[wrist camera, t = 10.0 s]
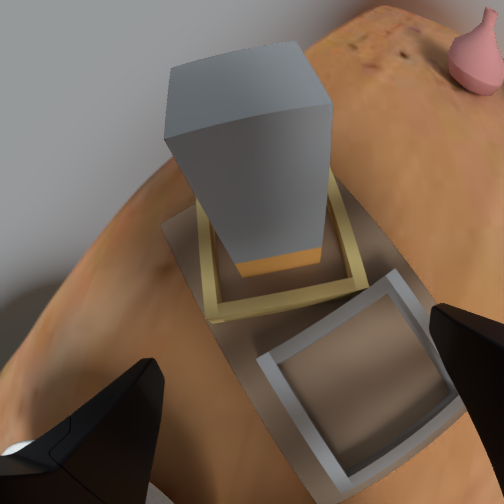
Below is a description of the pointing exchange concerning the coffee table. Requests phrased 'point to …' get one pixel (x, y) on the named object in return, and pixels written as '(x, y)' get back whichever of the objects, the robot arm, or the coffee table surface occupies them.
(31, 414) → the coffee table surface
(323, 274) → the station board
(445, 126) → the coffee table surface
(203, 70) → the grey square pillar
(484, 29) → the pink vase
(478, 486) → the coffee table surface
